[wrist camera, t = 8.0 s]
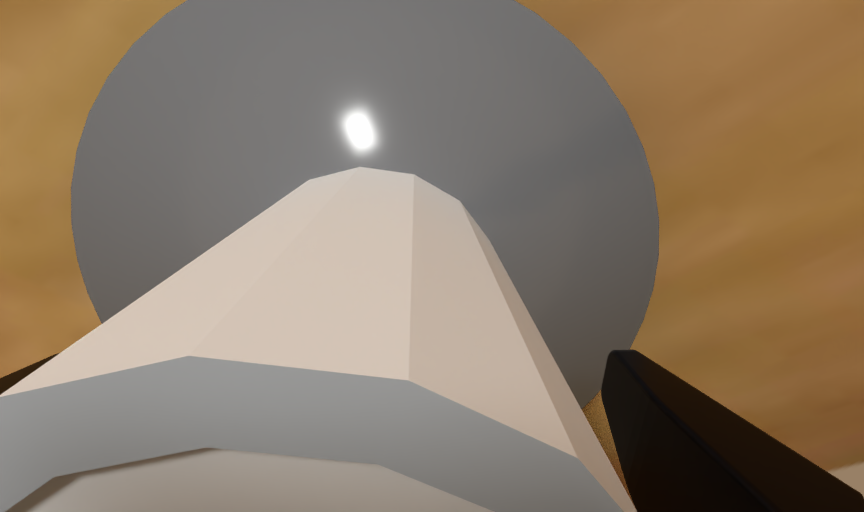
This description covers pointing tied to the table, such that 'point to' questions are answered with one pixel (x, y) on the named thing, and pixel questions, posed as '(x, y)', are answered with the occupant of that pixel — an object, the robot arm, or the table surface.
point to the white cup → (314, 377)
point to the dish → (375, 148)
